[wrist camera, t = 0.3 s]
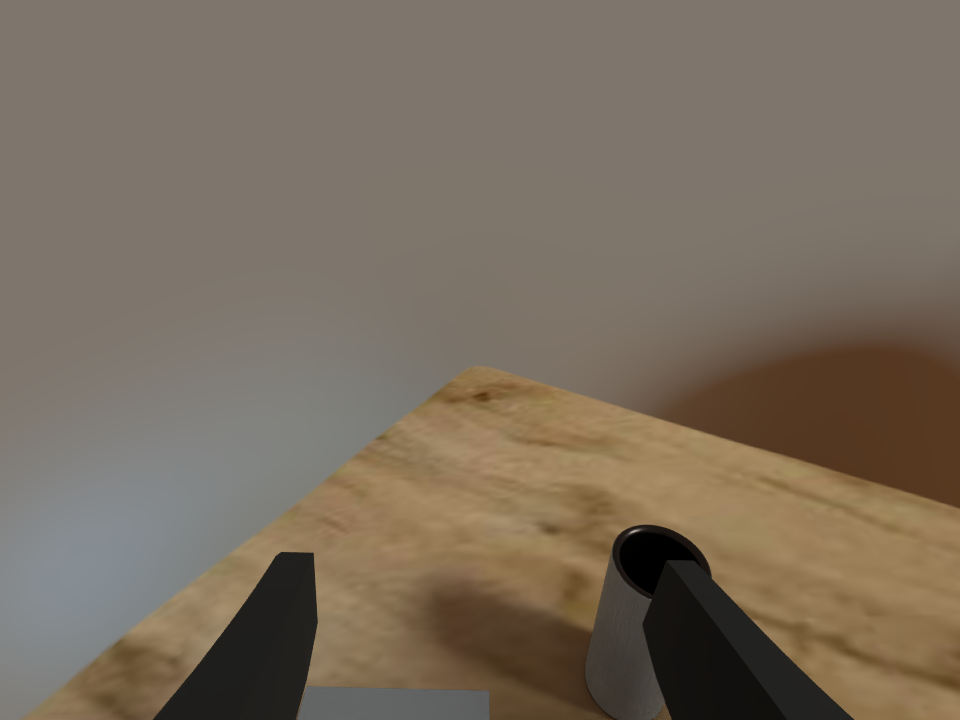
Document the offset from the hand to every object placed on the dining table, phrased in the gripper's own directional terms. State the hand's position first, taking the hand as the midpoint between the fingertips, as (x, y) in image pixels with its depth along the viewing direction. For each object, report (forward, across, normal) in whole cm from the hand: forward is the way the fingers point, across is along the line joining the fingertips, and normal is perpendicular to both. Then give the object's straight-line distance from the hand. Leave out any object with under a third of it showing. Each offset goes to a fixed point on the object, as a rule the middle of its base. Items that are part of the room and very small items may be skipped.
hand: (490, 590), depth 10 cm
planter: (+10, -11, +20) cm, 25 cm away
